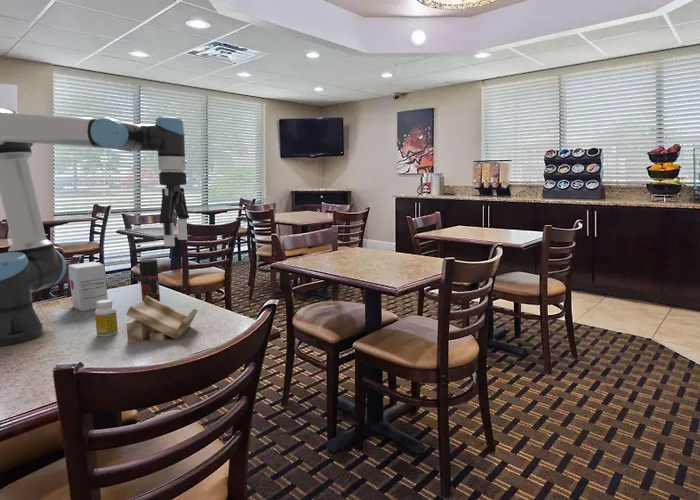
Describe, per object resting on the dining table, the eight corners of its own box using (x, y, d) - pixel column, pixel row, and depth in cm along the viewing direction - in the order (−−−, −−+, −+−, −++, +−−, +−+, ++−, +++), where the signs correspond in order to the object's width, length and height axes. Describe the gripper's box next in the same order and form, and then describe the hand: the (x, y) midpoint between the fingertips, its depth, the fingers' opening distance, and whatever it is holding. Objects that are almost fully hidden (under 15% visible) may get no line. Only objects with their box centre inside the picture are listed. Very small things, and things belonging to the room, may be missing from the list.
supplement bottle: (109, 337, 132) (106, 304, 130) (92, 336, 133) (89, 303, 131) (122, 331, 137) (119, 299, 135) (105, 330, 138) (102, 298, 137)
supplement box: (71, 306, 163) (67, 264, 161) (99, 301, 170) (95, 261, 167) (81, 311, 157) (76, 268, 155) (109, 306, 164) (105, 264, 161)
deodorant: (143, 300, 171) (140, 259, 169) (160, 298, 173) (157, 258, 171) (141, 304, 166) (137, 262, 163) (159, 302, 168) (156, 261, 165)
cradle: (127, 341, 129) (124, 306, 127) (144, 327, 140) (141, 295, 139) (187, 339, 129) (185, 305, 128) (198, 326, 141) (196, 294, 140)
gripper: (172, 171, 126) (177, 249, 130) (196, 171, 151) (199, 237, 154) (144, 171, 126) (149, 249, 129) (172, 171, 150) (175, 237, 154)
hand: (176, 242), depth 142 cm, fingers open, 13 cm apart
